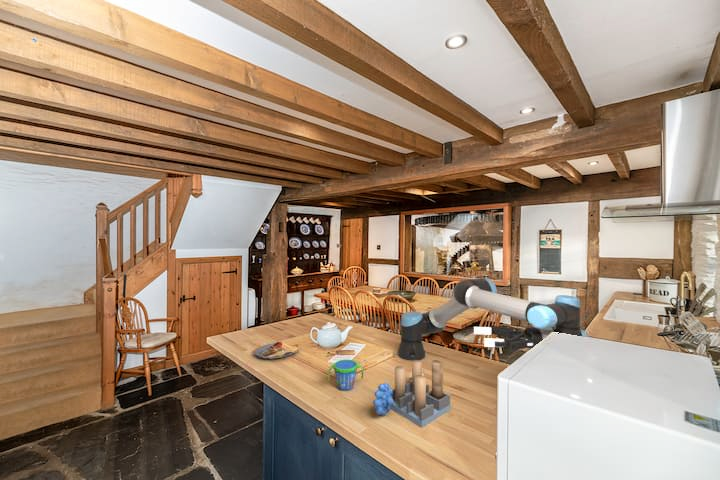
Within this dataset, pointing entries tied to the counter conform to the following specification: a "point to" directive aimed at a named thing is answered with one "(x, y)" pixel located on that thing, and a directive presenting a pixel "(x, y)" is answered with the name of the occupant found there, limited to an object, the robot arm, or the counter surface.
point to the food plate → (273, 351)
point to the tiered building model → (411, 376)
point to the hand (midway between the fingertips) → (478, 336)
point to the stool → (417, 397)
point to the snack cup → (345, 373)
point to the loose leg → (437, 379)
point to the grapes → (383, 399)
